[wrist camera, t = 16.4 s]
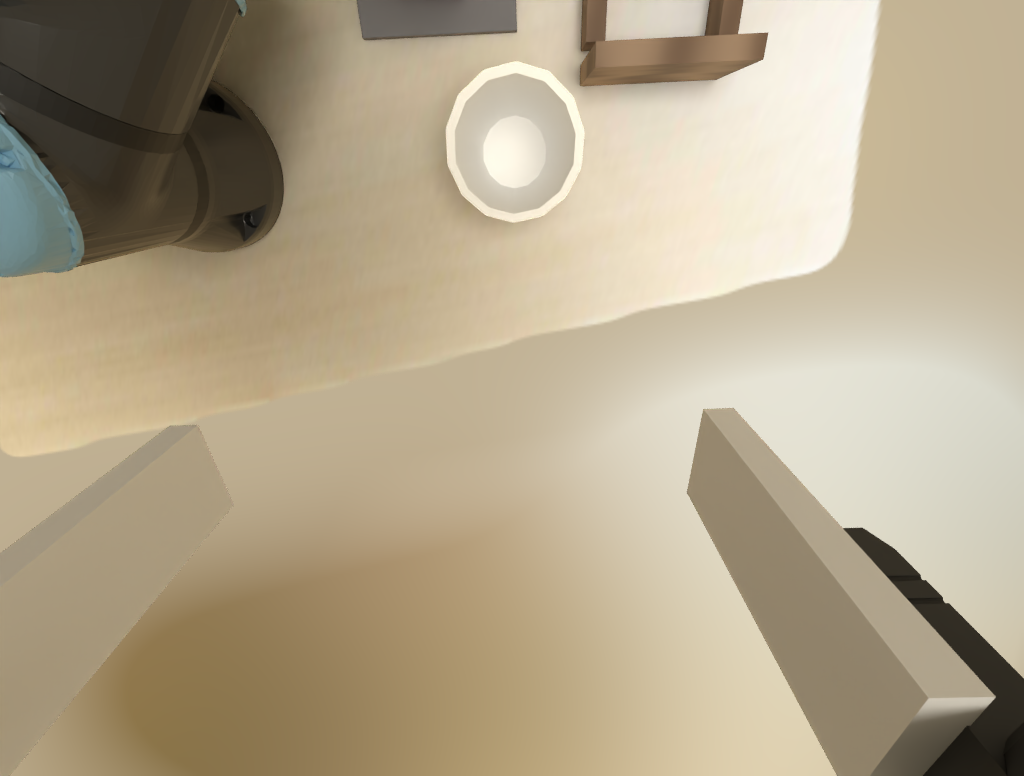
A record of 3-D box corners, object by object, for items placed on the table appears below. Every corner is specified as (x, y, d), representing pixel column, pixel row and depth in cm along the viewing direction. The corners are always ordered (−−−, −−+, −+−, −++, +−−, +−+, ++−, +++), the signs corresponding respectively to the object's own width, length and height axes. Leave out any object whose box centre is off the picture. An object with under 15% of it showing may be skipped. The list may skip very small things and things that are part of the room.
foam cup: (456, 192, 42) (434, 202, 30) (475, 80, 38) (458, 43, 26) (549, 217, 43) (562, 235, 31) (577, 111, 39) (604, 87, 27)
